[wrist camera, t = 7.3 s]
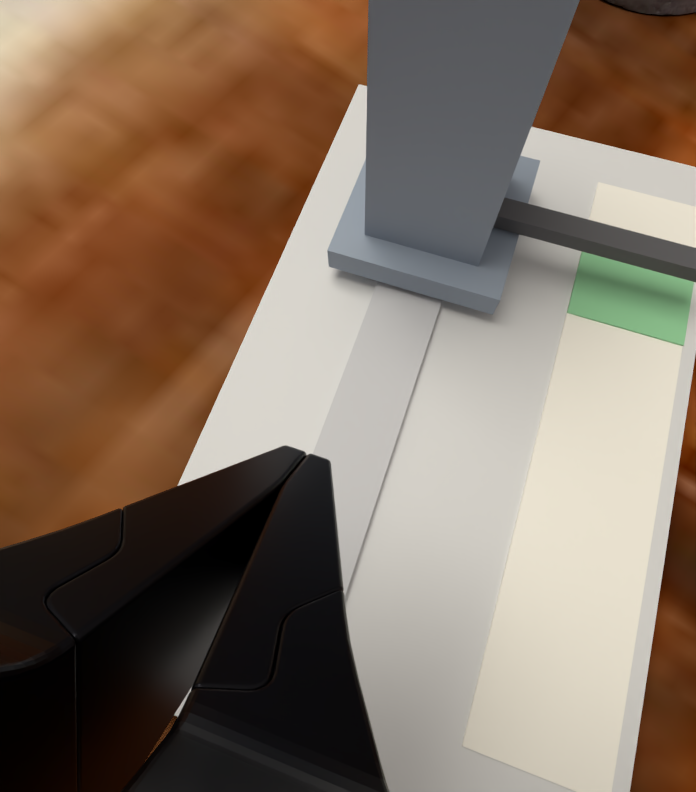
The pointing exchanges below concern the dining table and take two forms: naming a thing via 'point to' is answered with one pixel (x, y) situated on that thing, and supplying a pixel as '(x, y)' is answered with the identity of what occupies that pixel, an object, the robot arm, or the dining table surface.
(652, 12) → the pillar candle
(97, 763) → the robot arm
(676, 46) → the dining table surface
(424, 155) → the tuning slider
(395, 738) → the gauge board
